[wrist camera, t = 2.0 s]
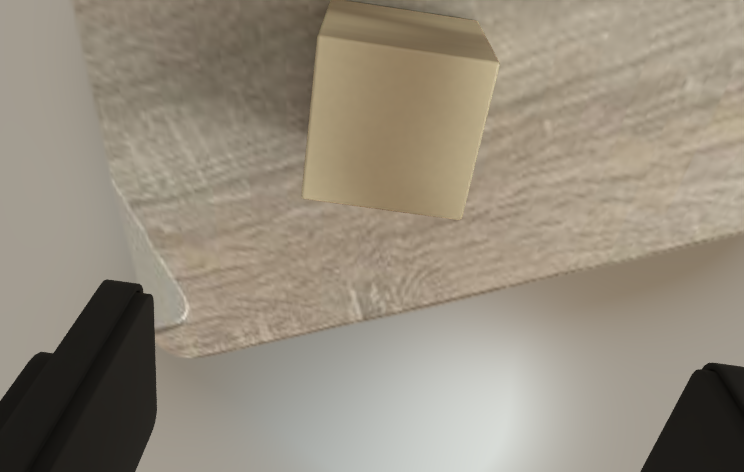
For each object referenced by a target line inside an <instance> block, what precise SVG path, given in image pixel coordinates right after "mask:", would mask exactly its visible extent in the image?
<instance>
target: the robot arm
mask: <svg viewBox="0 0 744 472" xmlns="http://www.w3.org/2000/svg"><path fill="white" fill-rule="evenodd" d="M156 398H157V397H156V366H155V332H154V301H153V296H152V295H151V294H145V293H143V288H142V285H140V284H136V283H129V282H122V281H114V280H104V281H103V282H102V284H101V285H100V286H99V288H98V289H97V291H96V292H95V293H94V295H93V296H92V298H91V299H90V301H89V302H88V304H87V305H86V307H85V308H84V310H83V311H82V313H81V314H80V315H79V317H78V318H77V320H76V321H75V323H74V324H73V326H72V327H71V328H70V330H69V331H68V333H67V334H66V336H65V337H64V339H63V340H62V342H61V343H60V344H59V346H58V347H57V349H56V351H55V352H54V353H46V352H40V353H38V354H36V355H35V356H34V357H33V358H32V359H31V360H30V361H29V362H28V364H27V365H26V366H25V368H24V369H23V370H22V372H21V373H20V375H19V376H18V377H17V379H16V380H15V382H14V383H13V384H12V386H11V387H10V388H9V390H8V391H7V392H6V394H5V395H4V397H3V398H2V399H1V401H0V472H135V471H136V468H137V466H138V463H139V461H140V459H141V457H142V454H143V452H144V449H145V447H146V445H147V442H148V440H149V437H150V435H151V433H152V430H153V427H154V424H155V419H156V413H157V399H156ZM641 472H744V367H740V366H733V365H726V364H718V363H708V364H706V365H705V366H704V367H703V368H702V370H696V371H695V372H694V373H693V374H692V376H691V377H690V379H689V381H688V383H687V385H686V387H685V389H684V391H683V392H682V394H681V396H680V398H679V400H678V402H677V404H676V406H675V408H674V410H673V412H672V413H671V415H670V417H669V419H668V421H667V423H666V424H665V426H664V428H663V430H662V432H661V434H660V436H659V438H658V440H657V442H656V443H655V445H654V447H653V449H652V451H651V453H650V455H649V456H648V458H647V460H646V462H645V464H644V466H643V468H642V470H641Z"/></svg>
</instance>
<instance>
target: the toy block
mask: <svg viewBox="0 0 744 472" xmlns="http://www.w3.org/2000/svg"><path fill="white" fill-rule="evenodd" d="M499 66H500V63H499V61H498V59H497V57H496V55H495V53H494V51H493V49H492V47H491V45H490V44H489V42H488V40H487V38H486V36H485V34H484V32H483V30H482V29H481V27H480V25H479V23H478V22H477V21H475V20H469V19H462V18H456V17H449V16H443V15H436V14H430V13H423V12H417V11H410V10H404V9H397V8H391V7H384V6H378V5H371V4H365V3H358V2H352V1H345V0H331V1H330V3H329V6H328V9H327V12H326V14H325V17H324V20H323V23H322V25H321V28H320V31H319V34H318V36H317V44H316V54H315V64H314V74H313V84H312V94H311V104H310V114H309V124H308V134H307V145H306V155H305V165H304V175H303V185H302V195H301V196H302V198H303V199H308V200H316V201H323V202H330V203H338V204H345V205H352V206H360V207H367V208H374V209H382V210H389V211H396V212H404V213H411V214H419V215H426V216H433V217H441V218H448V219H455V220H461V218H462V216H463V212H464V208H465V204H466V200H467V195H468V191H469V187H470V183H471V179H472V175H473V171H474V167H475V163H476V159H477V155H478V151H479V147H480V143H481V139H482V135H483V131H484V127H485V123H486V119H487V115H488V111H489V106H490V102H491V98H492V94H493V90H494V86H495V82H496V78H497V74H498V70H499Z"/></svg>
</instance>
